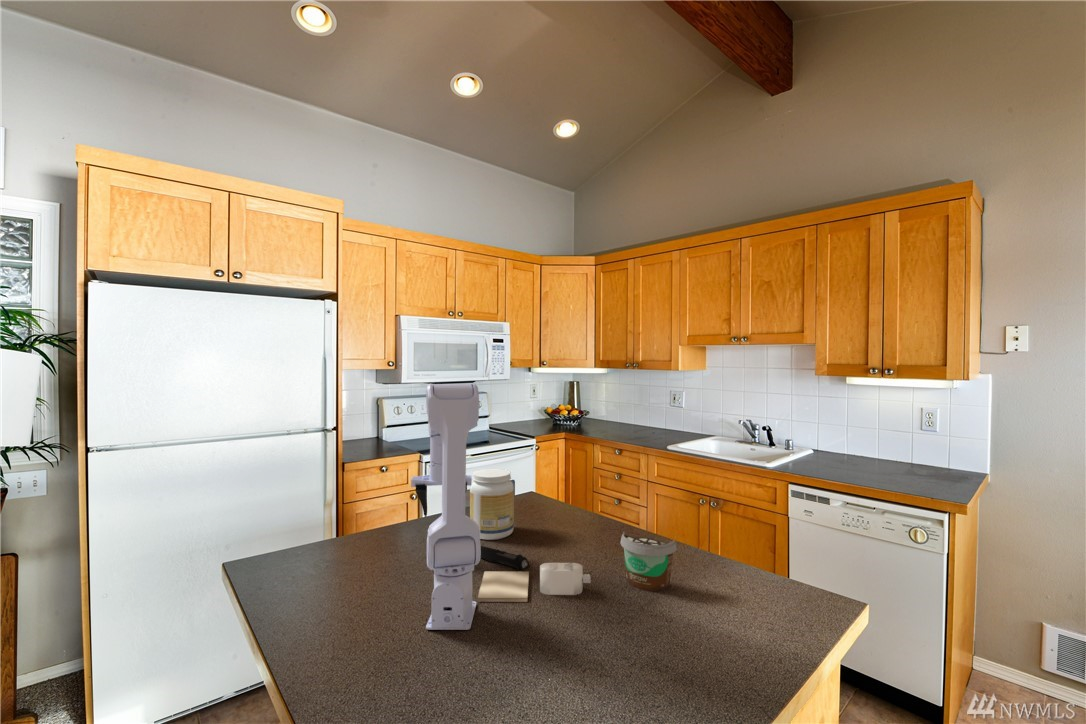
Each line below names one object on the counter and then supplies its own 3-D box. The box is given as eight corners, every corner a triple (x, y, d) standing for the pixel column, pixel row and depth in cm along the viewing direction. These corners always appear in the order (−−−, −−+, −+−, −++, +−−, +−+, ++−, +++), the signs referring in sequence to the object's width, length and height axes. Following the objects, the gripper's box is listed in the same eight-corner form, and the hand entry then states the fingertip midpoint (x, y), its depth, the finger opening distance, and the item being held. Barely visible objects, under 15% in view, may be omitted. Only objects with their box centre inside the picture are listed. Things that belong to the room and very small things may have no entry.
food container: (612, 585, 106) (612, 539, 105) (621, 574, 111) (621, 530, 111) (669, 599, 100) (670, 550, 100) (676, 586, 105) (676, 540, 105)
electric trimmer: (479, 553, 123) (479, 541, 123) (530, 567, 115) (530, 554, 115) (469, 559, 120) (469, 546, 120) (521, 573, 112) (521, 559, 112)
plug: (589, 585, 105) (589, 562, 105) (590, 595, 101) (591, 571, 101) (539, 585, 105) (540, 562, 105) (539, 594, 101) (539, 570, 101)
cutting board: (527, 601, 98) (527, 597, 98) (477, 601, 98) (477, 597, 98) (528, 575, 110) (528, 571, 110) (484, 574, 110) (484, 571, 110)
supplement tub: (522, 530, 138) (522, 471, 138) (495, 544, 128) (496, 480, 128) (488, 522, 145) (488, 465, 145) (460, 535, 134) (460, 474, 134)
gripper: (471, 454, 125) (470, 504, 127) (412, 455, 123) (412, 506, 124) (472, 463, 118) (471, 517, 120) (410, 465, 116) (410, 519, 118)
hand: (441, 512), depth 122 cm, fingers open, 7 cm apart
